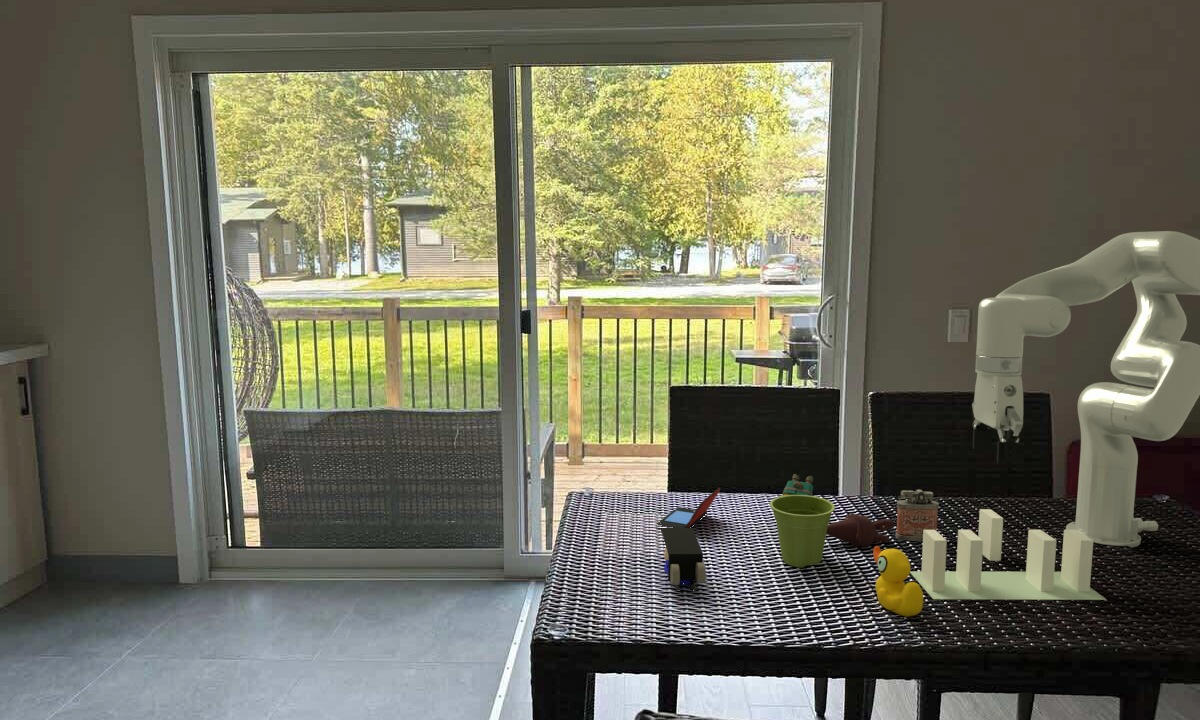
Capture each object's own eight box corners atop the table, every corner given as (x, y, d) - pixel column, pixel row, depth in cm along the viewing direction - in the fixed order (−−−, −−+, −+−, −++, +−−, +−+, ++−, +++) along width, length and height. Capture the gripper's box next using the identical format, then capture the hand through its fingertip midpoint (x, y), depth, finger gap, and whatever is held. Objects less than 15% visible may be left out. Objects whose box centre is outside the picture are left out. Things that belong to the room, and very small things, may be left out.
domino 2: (967, 578, 132) (969, 529, 131) (980, 591, 127) (983, 540, 126) (955, 578, 132) (958, 529, 131) (968, 591, 127) (970, 540, 126)
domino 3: (988, 554, 145) (990, 509, 144) (1000, 564, 140) (1003, 518, 139) (977, 554, 145) (979, 509, 144) (989, 564, 140) (992, 518, 139)
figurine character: (709, 603, 130) (692, 559, 144) (710, 563, 128) (693, 523, 142) (670, 605, 129) (657, 561, 144) (670, 565, 127) (658, 524, 142)
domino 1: (932, 578, 133) (934, 529, 131) (944, 591, 128) (946, 540, 126) (921, 578, 133) (923, 529, 131) (932, 591, 128) (934, 540, 126)
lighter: (933, 535, 155) (936, 488, 154) (939, 541, 152) (941, 493, 150) (893, 534, 156) (895, 487, 154) (898, 540, 152) (900, 492, 151)
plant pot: (772, 546, 151) (773, 492, 149) (834, 553, 147) (836, 497, 145) (765, 569, 140) (766, 511, 138) (831, 577, 136) (833, 517, 134)
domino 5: (1072, 578, 131) (1075, 529, 130) (1089, 591, 126) (1093, 540, 125) (1060, 578, 131) (1064, 529, 130) (1077, 591, 127) (1081, 540, 125)
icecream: (826, 525, 144) (903, 529, 145) (815, 503, 151) (888, 507, 152) (820, 555, 147) (895, 558, 147) (809, 532, 153) (881, 536, 154)
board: (1068, 575, 134) (1068, 571, 134) (1106, 604, 124) (1106, 599, 123) (909, 575, 136) (909, 571, 136) (933, 603, 125) (933, 598, 125)
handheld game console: (676, 511, 173) (676, 480, 172) (721, 518, 168) (721, 486, 167) (654, 529, 162) (654, 496, 161) (701, 537, 157) (701, 503, 156)
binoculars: (777, 525, 168) (770, 497, 162) (788, 495, 173) (781, 466, 168) (818, 532, 163) (812, 503, 157) (828, 501, 169) (822, 472, 163)
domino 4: (1037, 578, 132) (1040, 529, 130) (1052, 591, 127) (1056, 540, 125) (1025, 578, 132) (1028, 529, 131) (1040, 591, 127) (1044, 540, 126)
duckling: (859, 597, 128) (861, 541, 126) (887, 593, 129) (889, 537, 128) (902, 628, 117) (904, 567, 115) (931, 623, 118) (934, 563, 117)
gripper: (1044, 372, 129) (1038, 469, 131) (997, 358, 146) (992, 444, 148) (1000, 372, 129) (994, 469, 131) (957, 359, 146) (953, 444, 148)
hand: (993, 455), depth 140 cm, fingers open, 9 cm apart
